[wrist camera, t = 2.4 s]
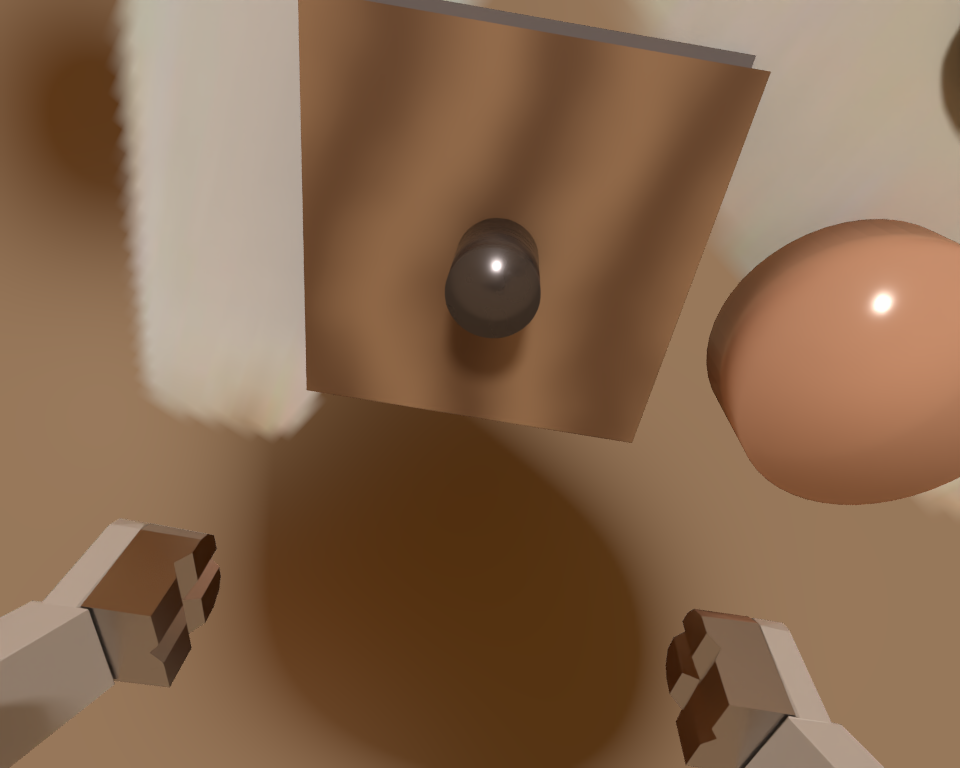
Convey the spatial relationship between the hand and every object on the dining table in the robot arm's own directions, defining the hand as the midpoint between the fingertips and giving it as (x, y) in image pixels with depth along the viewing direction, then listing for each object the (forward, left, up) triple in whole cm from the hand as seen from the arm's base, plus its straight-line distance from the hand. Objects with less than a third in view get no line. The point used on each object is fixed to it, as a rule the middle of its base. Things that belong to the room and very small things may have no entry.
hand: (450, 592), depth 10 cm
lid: (0, 0, -21) cm, 21 cm away
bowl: (-17, +2, -21) cm, 27 cm away
